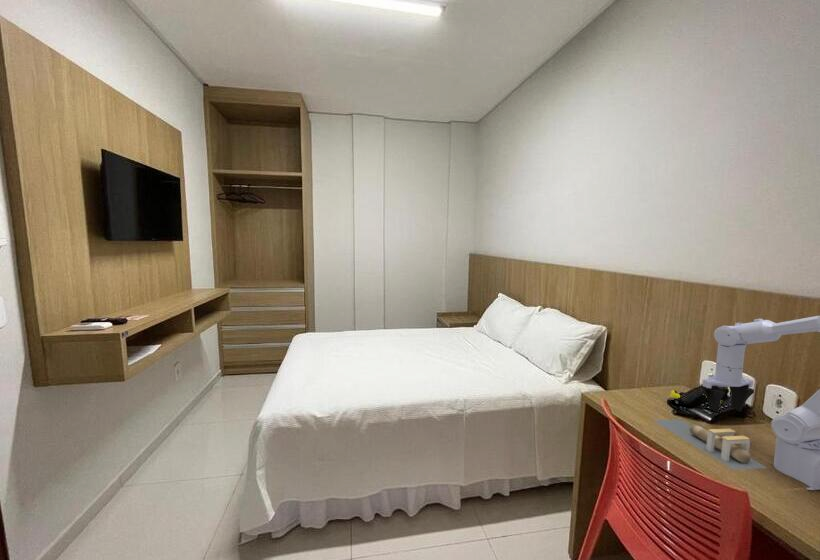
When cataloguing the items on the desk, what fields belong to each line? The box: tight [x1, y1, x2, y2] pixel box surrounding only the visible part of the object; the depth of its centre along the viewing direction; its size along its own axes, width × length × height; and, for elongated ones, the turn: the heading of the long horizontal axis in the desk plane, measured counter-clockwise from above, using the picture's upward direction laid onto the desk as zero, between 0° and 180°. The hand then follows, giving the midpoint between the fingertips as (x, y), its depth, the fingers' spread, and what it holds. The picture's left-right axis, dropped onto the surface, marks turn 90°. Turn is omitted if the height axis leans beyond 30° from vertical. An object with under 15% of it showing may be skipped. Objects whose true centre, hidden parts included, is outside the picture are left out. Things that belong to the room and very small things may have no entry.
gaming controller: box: [668, 389, 686, 401], centre depth 121 cm, size 15×6×10 cm
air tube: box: [690, 424, 752, 463], centre depth 94 cm, size 14×3×3 cm, turn 6°
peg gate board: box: [652, 418, 768, 471], centre depth 97 cm, size 25×10×7 cm, turn 6°
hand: (724, 409), depth 99 cm, fingers open, 7 cm apart
